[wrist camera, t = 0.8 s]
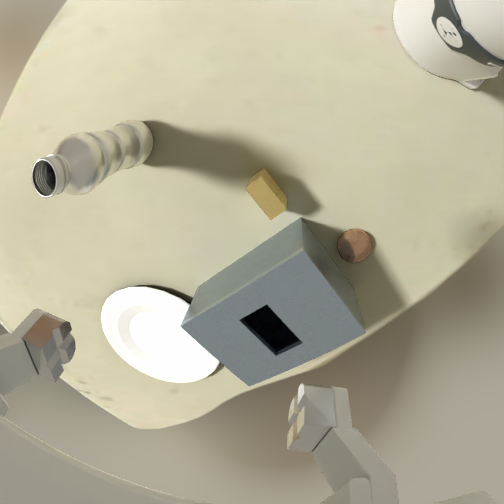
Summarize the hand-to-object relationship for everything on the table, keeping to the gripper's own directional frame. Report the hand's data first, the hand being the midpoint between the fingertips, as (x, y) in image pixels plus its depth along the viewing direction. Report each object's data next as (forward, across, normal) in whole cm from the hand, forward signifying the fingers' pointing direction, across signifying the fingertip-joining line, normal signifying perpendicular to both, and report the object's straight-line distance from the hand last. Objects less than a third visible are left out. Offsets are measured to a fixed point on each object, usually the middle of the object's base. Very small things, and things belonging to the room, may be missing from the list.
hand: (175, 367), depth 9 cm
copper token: (+34, -16, +8) cm, 39 cm away
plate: (+35, +13, +36) cm, 51 cm away
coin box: (+34, -6, +19) cm, 39 cm away
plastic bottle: (+34, +18, 0) cm, 39 cm away
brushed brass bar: (+34, -2, +3) cm, 34 cm away
